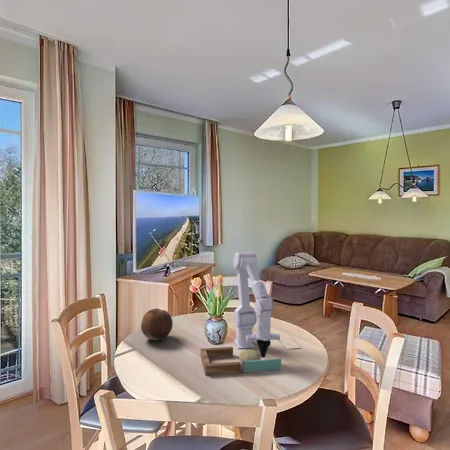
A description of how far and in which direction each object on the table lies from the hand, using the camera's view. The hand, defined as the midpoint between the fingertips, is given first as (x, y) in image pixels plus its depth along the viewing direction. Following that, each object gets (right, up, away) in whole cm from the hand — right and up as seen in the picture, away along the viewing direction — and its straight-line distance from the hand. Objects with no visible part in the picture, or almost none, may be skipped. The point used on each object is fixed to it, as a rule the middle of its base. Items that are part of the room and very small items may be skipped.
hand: (262, 356), depth 140 cm
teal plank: (-2, -2, -8) cm, 9 cm away
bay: (-17, -2, -3) cm, 18 cm away
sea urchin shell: (-5, -2, -1) cm, 6 cm away
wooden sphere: (-49, 0, +20) cm, 53 cm away
